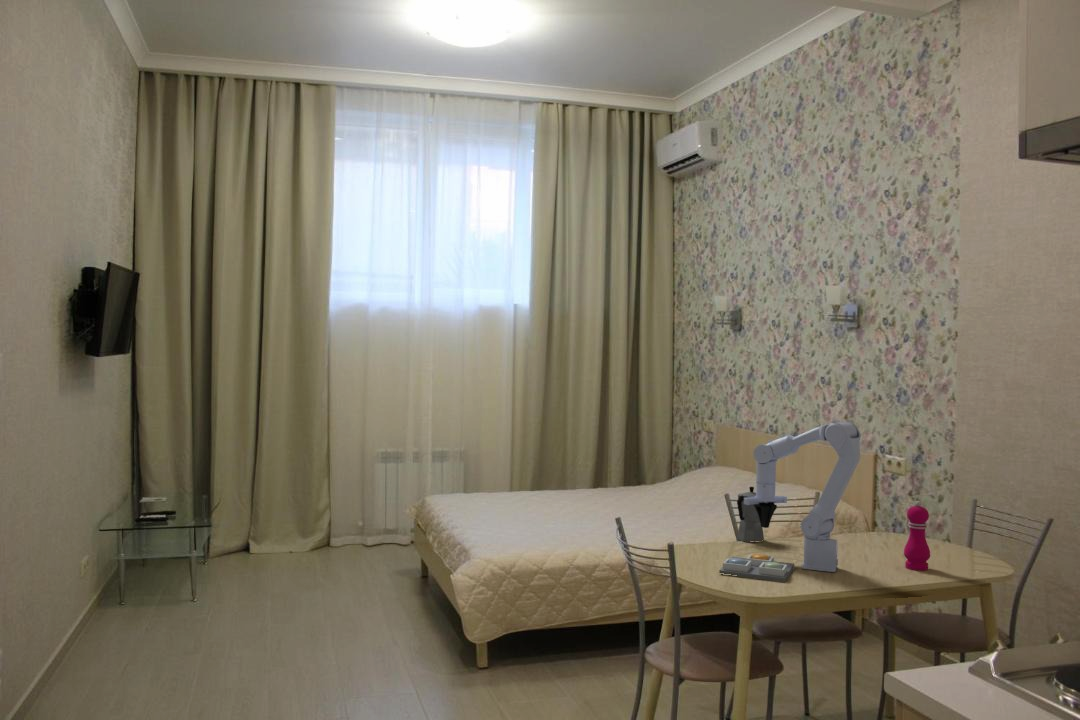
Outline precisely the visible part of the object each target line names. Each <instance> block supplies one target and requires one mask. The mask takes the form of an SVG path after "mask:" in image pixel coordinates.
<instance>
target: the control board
mask: <svg viewBox="0 0 1080 720" xmlns="http://www.w3.org/2000/svg"><path fill="white" fill-rule="evenodd" d="M753 554H754V553H750V554H749V555H748V556H747V557H740V556H739V557H737V556H731V558H739V559H744V560H745V561H746V562H745V565H740V564H732V563H729V559H731V558H729V557H727V558H726V559H725V560H724V561H723V562H722V567H721V568H720V569H719V573H724V574H731V575H737V576H743V577H742V578H744V577H748V578H747V579H752V578H756V579H755V580H762V581H771V582H778V583H786V581H787V580H788V578H789V577H790V576H791V575H790V574H791V573H792V571H794V569H795V563H792V562H785V561H775V556H774V555H773V556H772V555H768V560H760V559H752V555H753ZM766 562H775V563H780V564H781V565H782V569H776V568H767V567H765V563H766ZM793 568H794V569H793ZM719 573H718V574H719Z"/></svg>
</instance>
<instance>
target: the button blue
mask: <svg viewBox="0 0 1080 720" xmlns="http://www.w3.org/2000/svg"><path fill="white" fill-rule="evenodd" d="M745 562H746V561H745V560H744V559H739V558H732V557H731V559H729V563H732V564H740V565H745Z"/></svg>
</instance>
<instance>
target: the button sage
mask: <svg viewBox="0 0 1080 720" xmlns="http://www.w3.org/2000/svg"><path fill="white" fill-rule="evenodd" d="M765 567H767V568H776V569H782V565H781V564H780V563H775V562H766V563H765Z"/></svg>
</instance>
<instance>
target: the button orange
mask: <svg viewBox="0 0 1080 720" xmlns="http://www.w3.org/2000/svg"><path fill="white" fill-rule="evenodd" d="M752 554H753V555H752V559H760V560H768V556H769V555H767V554H762V553H752Z"/></svg>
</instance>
